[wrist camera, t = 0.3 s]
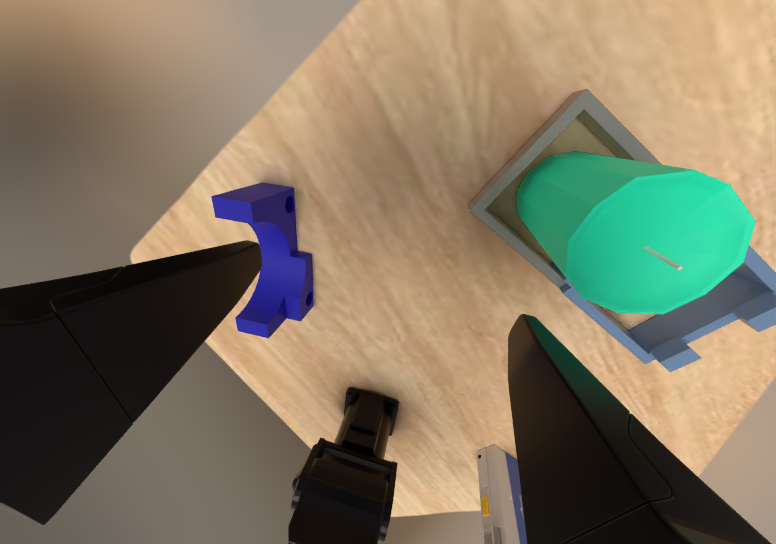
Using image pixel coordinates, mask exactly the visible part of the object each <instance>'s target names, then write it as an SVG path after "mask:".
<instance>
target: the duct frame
mask: <svg viewBox="0 0 776 544" xmlns="http://www.w3.org/2000/svg"><path fill="white" fill-rule="evenodd" d="M576 117H577V118H578V119H579V120H580V121H581V122H582V123H583V124H584V125H586V126H587V127H588V128H589V129H590V130H591V131H592V132H593V133H594V134H595V135H596V136H597V137H598V138H599V139H600V140H601V141H602V142H603V143H604V144H605V145H606V146H607V147H608V148H609V149H610V150H611V151H612V152H613V153H614V154H615V155H616V156H617V157H618V158H621V159H627V160H634V161H640V162H646V163H653V164H659V165H662V164H661V163H660V162H659V161H658V160H657V159H656V158H655V157H654V156H653V155H652V154H651V153H650V152H649V151H648V150H647V149H646V148H645V147H644V146H643V145H642V144H641V143H640V142H639V141H638V140H637V139H636V138H635V137H634V136H633V135H632V134H631V133H630V132H629V131H628V130H627V129H626V128H625V127H624V126H623V125H622V124H621V123H620V122H619V121H618V120H617V118H616V117H615V116H614V115H613V114H612V113H611V112H610V111H609V110H608V109H607V108H606V107H605V106H604V105H603V104H602V103H601V102H600V101H599V100H598V99H597V98H596V97H595V96H594V95H593V94H592V93H591V92H590V91H589V90H588V89H585V90H582V91H578V92H575V93H573V94H572V95H571V96H570V97H569V98H568V99H567V100H566V101H565V103H564V104H563V105H562V106H561V107H560V108H559V109H558V110H557V111H556V112H555V113H554V114H553V115H552V116H551V117H550V118H549V119H548V121H547V122H546V123H545V124H544V125H543V126H542V127H541V128H540V129H539V130H538V131H537V132H536V133H535V134H534V135H533V136H532V137H531V139H530V140H529V141H528V142H527V143H526V144H525V145H524V146H523V147H522V148H521V149H520V150H519V151H518V152H517V153H516V154H515V155H514V157H513V158H512V159H511V160H510V161H509V162H508V163H507V164H506V165H505V166H504V167H503V168H502V169H501V170H500V171H499V172H498V173H497V175H496V176H495V177H494V178H493V179H492V180H491V181H490V182H489V183H488V184H487V185H486V186H485V187H484V188H483V189H482V190H481V191H480V193H479V194H478V195H477V196H476V197H475V198H474V199H473V200H472V201H471V202H470V203H469V204H468V206H469V210H470V212H472V213H473V214H474V215H475V216H476V217H477V218H479V219H480V220H481V221H482V222H483V223H484V224H485V225H487V226H488V227H489V228H490V229H491V230H492V231H494V232H495V233H496V234H497V235H498V236H499V237H501V238H502V239H503V240H504V241H505V242H506V243H508V244H509V245H510V246H511V247H512V248H513V249H514V250H516V251H517V252H518V253H519V254H520V255H521V256H523V257H524V258H525V259H526V260H527V261H528V262H530V263H531V264H532V265H533V266H534V267H535V268H537V269H538V270H539V271H540V272H541V273H542V274H544V275H545V276H546V277H547V278H548V279H549V280H550V281H552V282H553V283H554V284H555V285H556V286H557V287H559V288H560V290H561V291H562V293H563V294H564V295H565V296H566V297H568V298H569V299H570V300H571V301H572V302H573V303H575V304H576V305H577V306H578V307H579V308H580V309H582V310H583V311H584V312H585V313H586V314H587V315H589V316H590V317H591V318H592V319H593V320H594V321H596V322H597V323H598V324H599V325H600V326H601V327H603V328H604V329H605V330H606V331H607V332H608V333H610V334H611V335H612V336H613V337H614V338H615V339H617V340H618V341H619V342H620V343H621V344H622V345H623V346H625V347H626V348H627V349H628V350H629V351H630V352H632V353H633V354H634V355H635V356H636V357H637V358H639V359H640V360H641V361H642V362H643V363H644V364H646V363H649V362H651V361H653V360H655V359H657V360H658V361H659V363H661V364H662V365H663V366H664V367H665V368H666V369H667V370H669V371H670V372H672V371H674V370H676V369H678V368H681V367H683V366H685V365H687V364H690V363H692V362H694V361H696V360H698V359H701V357H700V356H699V355H698V354H697V353H696V352H695V351H693V350H692V349H691V348H690V347H689V346H688V345H687V344H688V343H690V342H692V341H694V340H696V339H698V338H700V337H702V336H704V335H706V334H708V333H710V332H713V331H715V330H717V329H719V328H721V327H723V326H725V325H727V324H729V323H731V322H733V321H735V320H737V319H740V320H741V321H742V322H744V323H745V324H747V325H748V326H750V327H751V328H753V329H754V330H756V331H758V332H760V331H762V330H765V329H767V328H769V327H771V326H773V325H776V272H775V271H774V270H773V269H772V268H771V267H770V266H769V265H768V264H767V263H766V262H765V261H764V260H763V259H762V258H761V257H760V256H759V255H758V254H757V253H756V252H755V251H754V250H753V249H752V248H751V247H750V246H748V249H747V252H746V256H745V259H744V262H743V263H742V264H741V265H740V266H739V267H738V268H736V269H735V270H734V271H733V273H732V274H730V275H728V276H727V277H726V278H725V279H723V280H722V281H721V282H720V283H719V284H717V285H716V286H715V287H714V288H713V289H712V290H710V291H709V292H708V293H707V294H705V295H703V296H701V297H699V298H697V299H695V300H693V301H691V302H688V303H686V304H684V305H682V306H680V307H678V308H676V309H674V310H672V311H669V312H667V313H665V314H658V315H656V316H654V317H652V318H651V319H649V320H647V321H645V322H643V323H642V324H640V325H638V326H636V327H634V328H632V329H631V330H629V331H627V330H626V329H625V328H624V327H623V326H622V325H621V324H619V323H618V322H617V321H616V320H615V319H614V318H613V317H611V316H610V315H609V314H608V313H607V312H606V311H605V310H603V309H602V308H601V307H600V306H599V305H598V304H595V303H593V302H591V301H588V300H586V299H583V298H582V297H581V296H580V295H579V293H578V292H577V291H576V290H575V288H574V287H573V286H572V285H571V283H570V282H569V281H568V279H567V278H566V277H565V276H564V274H563V273H562V272H561V270H560V269H559V268H558V267H557V265H556V264H555V263H552V264H551V263H550V262H548V261H547V260H546V259H545V258H544V257H543V256H541V255H540V254H539V253H538V252H537V251H536V250H535V249H533V248H532V247H531V246H530V245H529V244H528V243H527V242H525V241H524V240H523V239H522V238H521V237H520V236H519V235H517V234H516V233H515V232H514V231H513V230H512V229H511V228H509V227H508V226H507V225H506V224H505V223H504V222H503V221H501V220H500V219H499V218H498V217H497V216H496V215H495V214H493V213H492V212H491V211H490V210H489V209H488V208H487V207H488V206H489V205H490V203H491V202H492V201H493V200H494V199H495V198H496V197H497V196H498V195H499V194H500V193H501V192H502V191H503V190H504V189H505V188H506V187H507V186H508V185H509V184H510V183H511V182H512V181H513V180H514V179H515V178H516V177H517V176H518V175H519V174H520V173H521V172H522V171H523V170H524V169H525V168H526V167H527V166H528V165H529V164H530V163H531V162H532V161H533V160H534V159H535V158H536V157H537V156H538V155H539V154H540V153H541V152H542V151H543V150H544V149H545V148H546V147H547V146H548V145H549V144H550V143H551V142H552V141H553V140H554V139H555V138H556V137H557V136H558V135H559V134H560V133H561V132H562V131H563V130H564V129H565V128H566V127H567V126H568V125H569V124H570V123H571V122H572V121H573V120H574V119H575V118H576Z"/></svg>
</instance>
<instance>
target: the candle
mask: <svg viewBox="0 0 776 544" xmlns="http://www.w3.org/2000/svg"><path fill="white" fill-rule="evenodd" d="M516 201H517V214H518V216H519V217H520V218H521V220H522V221H523V223H524V224H525V226H526V227H527V228H528V230H529V231H530V232H531V233H532V235H533V236H534V237H535V239H536V240H537V241H538V242H539V244H540V245H541V246H542V247H543V249H544V250H545V251H546V253H547V254H548V255H549V256H550V258H551V259H552V260H553V262H554V263H555V264H556V265H557V267H558V268H559V269H560V270H561V272H562V273H563V274H564V276H565V277H566V278H567V279H568V281H569V282H570V283H571V285H572V286H573V287H574V288H575V290H576V291H577V292H578V293H579V295H580V296H581V297H582V298H583V299H586V300H588V301H591V302H593V303H595V304H598V305H600V306H602V307H605V308H607V309H609V310H612V311H614V312H616V313H640V314H665V313H667V312H669V311H672V310H674V309H676V308H678V307H680V306H682V305H684V304H686V303H688V302H691V301H693V300H695V299H697V298H699V297H701V296H703V295H705V294H707V293H708V292H709V291H710V290H712V289H713V288H714V287H715V286H716V285H717V284H719V283H720V282H721V281H722V280H723V279H725V278H726V277H727V276H728V275H729V274H730V273H732V272H733V271H734V270H735V269H736V268H738V267H739V266H740V265H741V264H742V263H743V262H744V259H745V256H746V252H747V249H748V246H749V242H750V239H751V236H752V232H753V229H754V226H755V222H756V221H755V220H754V218H753V217H752V216H751V214H750V213H749V211H748V210H747V208H746V207H745V205H744V204H743V202H742V201H741V200H740V198H739V197H738V195H737V194H736V192H735V191H734V189H733V188H732V187H731V185H730V184H727V183H725V182H722V181H720V180H717V179H715V178H713V177H710V176H708V175H705V174H703V173H701V172H698V171H696V170H691V169H684V168H678V167H672V166H665V165H659V164H653V163H646V162H640V161H634V160H627V159H621V158H615V157H608V156H602V155H596V154H589V153H583V152H577V151H575V152H569V153H564V154H558V155H553V156H549V157H548V158H546V159H545V160H543V161H542V162H541V163H539V164H538V165H536V166H535V167H534V168H532V169H531V170H529V171H528V173H527V174H526V176H525V178H524V180H523V182H522V183H521V185H520V187H519V189H518V190H517V192H516Z"/></svg>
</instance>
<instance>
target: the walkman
mask: <svg viewBox="0 0 776 544" xmlns="http://www.w3.org/2000/svg"><path fill="white" fill-rule="evenodd" d="M477 462H478V475H479V488H480V501H481V514H482V527H483V531H484V542H485V544H527V539H526V530H525V521H524V513H523V504H522V496H521V487H520V479H519V470H518V462H517V460H516V459H515V458H513V457H512V456H510V455H509V454H507V453H506V452H504V451H503V450H501V449H500V448H498V447H497V446H495V445H492V446H490V447H488V448H483V449H481V450H479V451H477Z"/></svg>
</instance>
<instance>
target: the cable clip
mask: <svg viewBox="0 0 776 544" xmlns="http://www.w3.org/2000/svg"><path fill="white" fill-rule="evenodd" d="M211 197H212V202H213V207H214V212H215V217H216V218H222V219H228V220H233V221H239V222H244V223H248V224H249V225H250V226H251V227H252V228H253V230H254V232H255V233H256V235H257V238H258V241H259V244H260V247H261V256H262V268H261V270H260V275H259V279H258V283H257V286H256V289H255V291H254V293H253V295H252V297H251V299H250V301H249V302H248V304H247V305H246V307H245V308H244V309H243V310H242V312H241V313H240V314H239V315H238V316H237V317H236V323H237V328H238V331H240V332H244V333H249V334H253V335H257V336H261V337H266V338H269V337H270V336H271V335H272V334H273V333H274V332H275V331H276V329H277V328H278V327H279V326H280V325H281V324H282V323H283V322H284V320H285V319H286V318H288V319H293V320H297V321H302V319H303V318H304V317H305V316H306V314H307V313H308V312H309V310H310V309H311V308H312V307H313V305H314V304H313V270H312V254H310V253H304V252H299V251H297V235H296V217H295V199H294V188H293V187H287V186H280V185H274V184H267V183H259V184H255V185H252V186H248V187H244V188H240V189H237V190H233V191H229V192H226V193H222V194H218V195H215V196H211Z"/></svg>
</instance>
